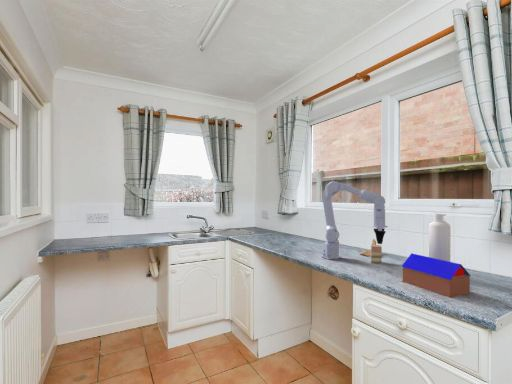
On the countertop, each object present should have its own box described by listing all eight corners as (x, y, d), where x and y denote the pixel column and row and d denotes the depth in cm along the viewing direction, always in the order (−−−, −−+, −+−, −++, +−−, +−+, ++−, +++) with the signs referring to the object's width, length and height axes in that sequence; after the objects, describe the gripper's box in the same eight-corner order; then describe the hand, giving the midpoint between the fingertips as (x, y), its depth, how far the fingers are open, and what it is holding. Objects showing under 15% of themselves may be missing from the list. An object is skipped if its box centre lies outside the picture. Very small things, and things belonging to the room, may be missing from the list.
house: (450, 298, 99) (450, 265, 99) (401, 282, 117) (401, 254, 117) (471, 294, 104) (471, 262, 104) (421, 279, 122) (421, 252, 122)
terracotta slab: (381, 252, 148) (381, 246, 148) (371, 251, 149) (371, 246, 149) (381, 250, 152) (381, 245, 152) (371, 250, 154) (371, 244, 154)
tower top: (381, 258, 148) (381, 252, 148) (371, 257, 149) (371, 251, 149) (380, 256, 152) (380, 250, 152) (370, 255, 154) (370, 250, 154)
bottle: (443, 280, 120) (443, 215, 120) (425, 275, 127) (425, 213, 127) (454, 277, 123) (454, 214, 124) (435, 273, 131) (435, 213, 131)
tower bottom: (381, 263, 148) (381, 258, 148) (371, 263, 149) (371, 257, 149) (380, 261, 152) (380, 256, 152) (370, 261, 154) (370, 255, 154)
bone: (388, 251, 171) (376, 255, 161) (376, 260, 176) (364, 264, 166) (376, 237, 176) (365, 240, 166) (365, 246, 181) (353, 249, 171)
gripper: (388, 218, 143) (388, 245, 143) (386, 216, 157) (386, 241, 156) (373, 218, 146) (373, 244, 145) (372, 216, 159) (372, 240, 159)
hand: (379, 242), depth 151 cm, fingers open, 7 cm apart
